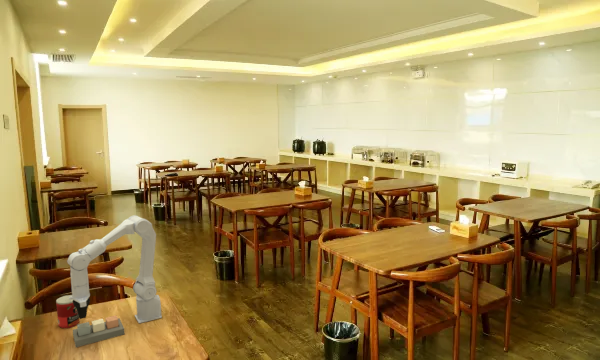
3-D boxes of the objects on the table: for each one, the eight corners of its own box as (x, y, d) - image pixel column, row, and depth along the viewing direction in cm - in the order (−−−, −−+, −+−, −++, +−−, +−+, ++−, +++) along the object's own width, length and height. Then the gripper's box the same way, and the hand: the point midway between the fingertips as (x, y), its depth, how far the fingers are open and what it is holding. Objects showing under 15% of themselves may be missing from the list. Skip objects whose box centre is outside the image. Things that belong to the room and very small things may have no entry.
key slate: (89, 329, 161) (88, 321, 161) (90, 333, 158) (90, 326, 158) (77, 331, 159) (77, 324, 159) (78, 336, 156) (78, 329, 155)
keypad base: (119, 323, 170) (119, 318, 170) (124, 334, 162) (124, 328, 162) (73, 335, 161) (72, 329, 161) (75, 347, 153) (75, 341, 153)
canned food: (70, 329, 166) (68, 303, 164) (53, 327, 168) (51, 302, 166) (84, 320, 173) (82, 295, 172) (67, 318, 175) (65, 294, 173)
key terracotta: (116, 322, 167) (116, 315, 166) (118, 326, 163) (118, 319, 163) (106, 324, 165) (105, 317, 164) (107, 329, 161) (107, 321, 161)
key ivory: (103, 325, 164) (102, 318, 164) (104, 329, 161) (104, 322, 160) (92, 328, 162) (91, 321, 161) (93, 332, 159) (92, 325, 158)
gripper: (66, 279, 159) (69, 312, 161) (69, 293, 147) (72, 328, 149) (86, 276, 163) (89, 308, 165) (91, 288, 151) (94, 323, 153)
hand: (82, 317), depth 158 cm, fingers closed
